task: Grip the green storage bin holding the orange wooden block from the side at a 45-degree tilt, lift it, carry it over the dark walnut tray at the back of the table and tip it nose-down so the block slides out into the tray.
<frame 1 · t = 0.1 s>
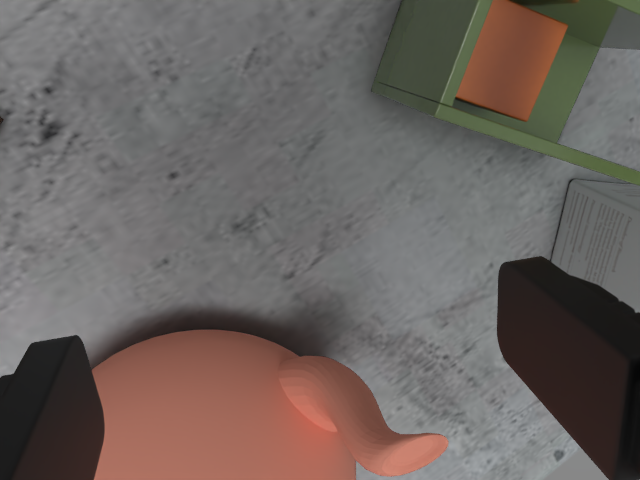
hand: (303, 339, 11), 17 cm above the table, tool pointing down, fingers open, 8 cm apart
green storage bin: (485, 63, 27), on the table, touching block
block: (464, 54, 26), point 1 cm above the table, touching green storage bin
product box: (601, 231, 32), on the table
teapot: (215, 418, 31), on the table
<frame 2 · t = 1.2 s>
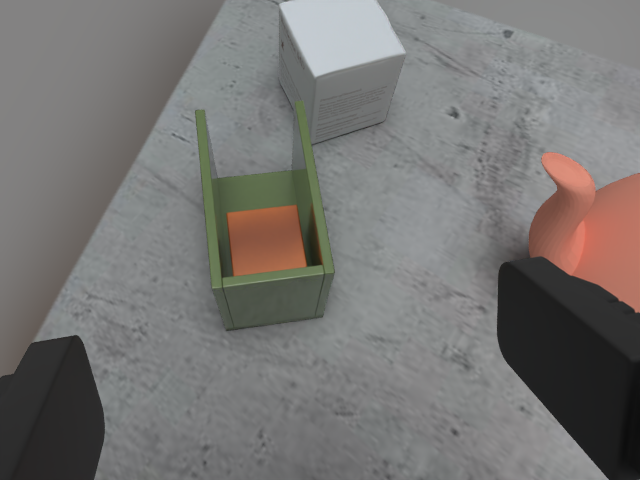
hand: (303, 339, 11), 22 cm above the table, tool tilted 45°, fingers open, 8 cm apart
green storage bin: (264, 247, 36), on the table, touching block
block: (267, 266, 34), point 1 cm above the table, touching green storage bin
product box: (331, 103, 40), on the table
teapot: (627, 311, 36), on the table
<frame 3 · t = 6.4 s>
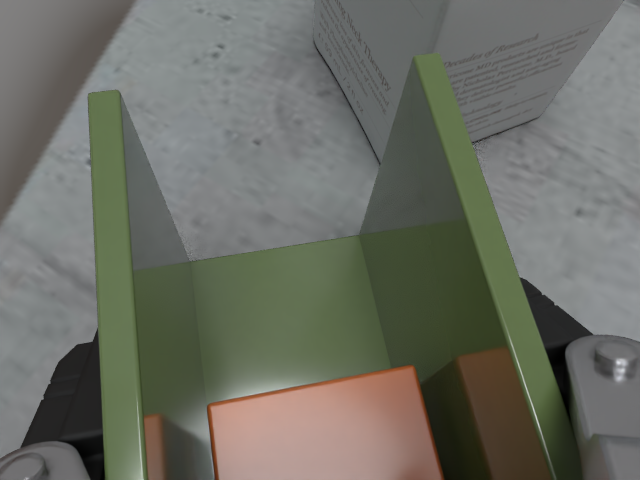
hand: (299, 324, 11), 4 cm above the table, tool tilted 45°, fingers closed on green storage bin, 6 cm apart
green storage bin: (308, 432, 15), on the table, touching block, gripper
product box: (423, 83, 20), on the table
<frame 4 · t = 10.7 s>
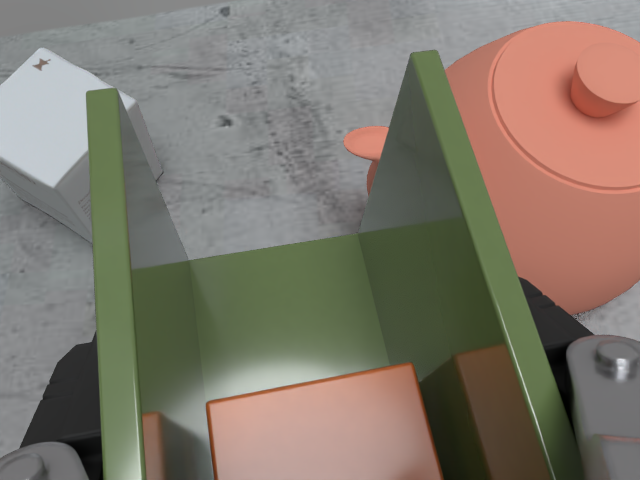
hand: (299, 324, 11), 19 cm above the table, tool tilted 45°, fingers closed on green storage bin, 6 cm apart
green storage bin: (307, 430, 15), point 15 cm above the table, touching block, gripper
product box: (94, 187, 34), on the table
teapot: (491, 210, 35), on the table
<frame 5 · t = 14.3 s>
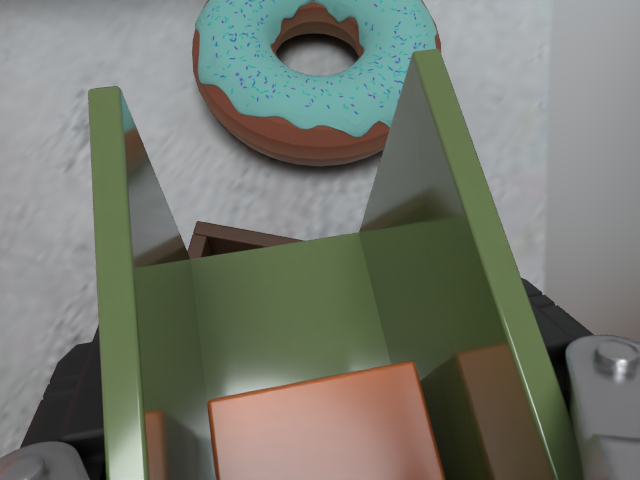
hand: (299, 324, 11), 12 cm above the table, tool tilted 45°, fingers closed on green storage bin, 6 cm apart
tray: (302, 407, 23), on the table
green storage bin: (308, 429, 15), point 8 cm above the table, touching block, gripper
donut: (315, 82, 29), on the table
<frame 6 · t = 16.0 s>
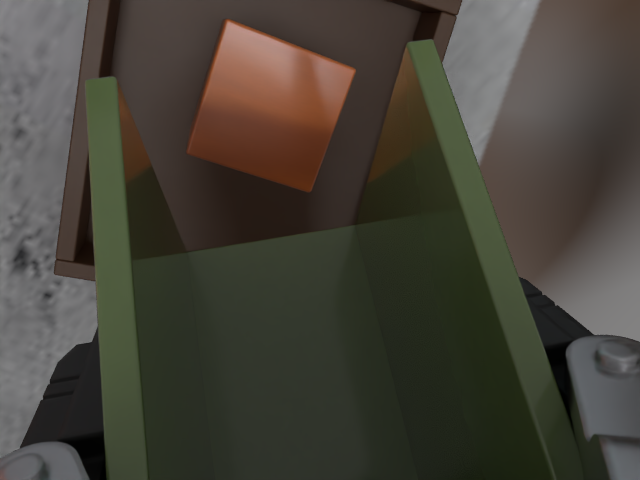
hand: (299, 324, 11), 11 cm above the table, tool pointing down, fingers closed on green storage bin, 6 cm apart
tray: (249, 126, 21), on the table
green storage bin: (305, 419, 15), point 9 cm above the table, tilted 45°, touching gripper
block: (246, 160, 19), point 2 cm above the table, tilted 90°, touching tray
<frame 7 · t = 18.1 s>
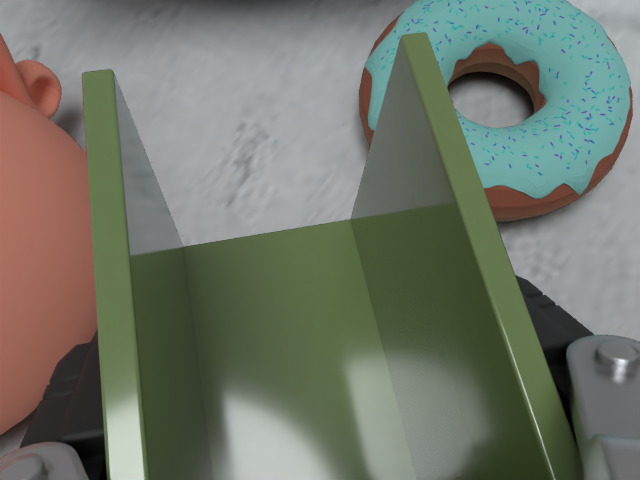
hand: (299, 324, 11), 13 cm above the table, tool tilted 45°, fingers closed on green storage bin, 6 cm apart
green storage bin: (301, 412, 15), point 8 cm above the table, tilted 7°, touching gripper
donut: (480, 124, 28), on the table
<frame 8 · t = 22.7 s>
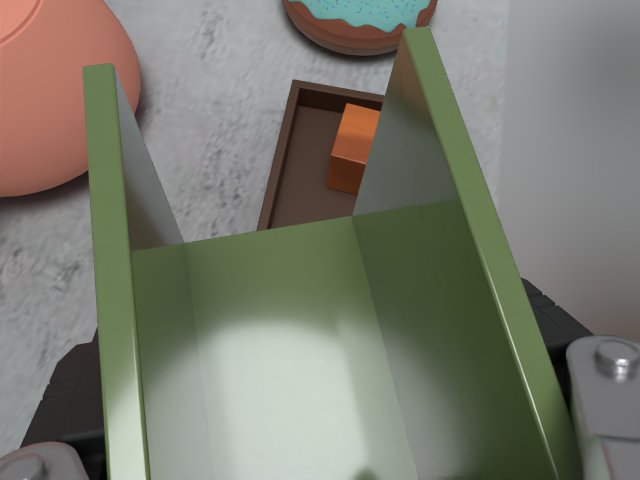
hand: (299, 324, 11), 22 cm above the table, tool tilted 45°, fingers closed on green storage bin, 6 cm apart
tray: (357, 189, 38), on the table
green storage bin: (303, 409, 15), point 18 cm above the table, touching gripper
block: (358, 180, 35), point 2 cm above the table, tilted 90°, touching tray
donut: (355, 8, 44), on the table
teapot: (28, 125, 38), on the table
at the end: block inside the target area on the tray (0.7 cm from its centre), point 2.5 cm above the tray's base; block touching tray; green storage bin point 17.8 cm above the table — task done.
